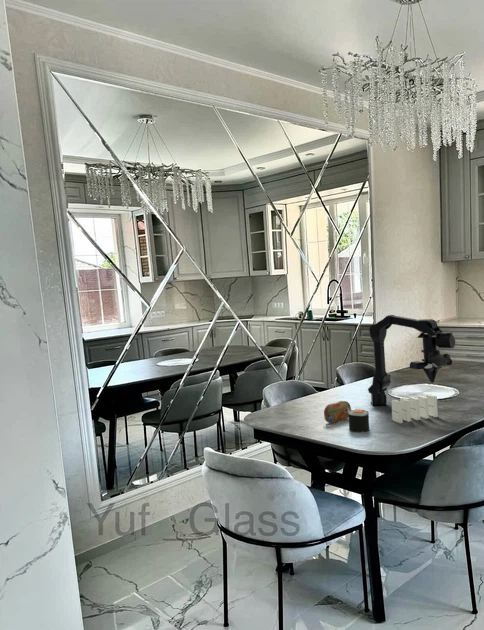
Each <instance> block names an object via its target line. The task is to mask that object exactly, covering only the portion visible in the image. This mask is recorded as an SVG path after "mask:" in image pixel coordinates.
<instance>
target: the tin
mask: <svg viewBox="0 0 484 630" xmlns="http://www.w3.org/2000/svg"><path fill="white" fill-rule="evenodd" d="M351 410H352V406H351V404H350V403H349V402H348V401H346V400H344V401H343V400H340V401H337V402H333V403H329V404H327V405H326V406H325V408H324V410H323V417H324V420H325V421H326V422H327V423H329V424H332V425H334V424H335V425H336V424H338V423H341V422H344V421H347V420H349V415H348V411H351Z"/></svg>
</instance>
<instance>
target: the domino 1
mask: <svg viewBox="0 0 484 630" xmlns="http://www.w3.org/2000/svg"><path fill="white" fill-rule="evenodd" d="M391 419H392V422H395V423H397V424H403V422H404V420H403V417H402V402H401V401H400V400H397V399H391Z"/></svg>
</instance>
